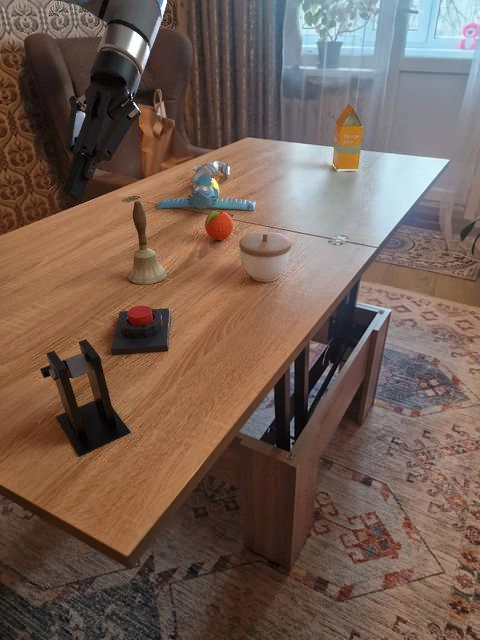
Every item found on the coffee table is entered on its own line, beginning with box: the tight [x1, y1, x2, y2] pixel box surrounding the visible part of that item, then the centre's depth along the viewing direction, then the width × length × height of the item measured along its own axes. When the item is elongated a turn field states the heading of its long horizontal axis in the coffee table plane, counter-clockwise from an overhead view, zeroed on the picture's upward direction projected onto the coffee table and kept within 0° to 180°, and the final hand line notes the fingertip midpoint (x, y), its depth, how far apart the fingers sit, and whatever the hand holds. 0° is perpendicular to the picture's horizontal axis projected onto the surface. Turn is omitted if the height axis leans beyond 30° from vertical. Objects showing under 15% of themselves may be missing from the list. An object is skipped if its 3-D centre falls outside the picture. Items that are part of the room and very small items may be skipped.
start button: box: [127, 305, 153, 326], centre depth 81 cm, size 4×4×2 cm
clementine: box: [204, 210, 234, 241], centre depth 117 cm, size 8×7×7 cm
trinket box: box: [238, 231, 292, 283], centre depth 100 cm, size 11×11×9 cm
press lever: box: [39, 353, 90, 379], centre depth 63 cm, size 11×6×2 cm
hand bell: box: [127, 200, 168, 285], centre depth 98 cm, size 8×8×16 cm
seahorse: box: [190, 160, 231, 186], centre depth 158 cm, size 5×12×20 cm
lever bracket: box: [45, 339, 132, 458], centre depth 62 cm, size 9×7×13 cm
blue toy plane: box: [156, 174, 256, 212], centre depth 136 cm, size 28×9×15 cm
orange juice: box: [332, 104, 364, 170], centre depth 166 cm, size 8×9×20 cm
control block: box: [110, 307, 172, 356], centre depth 82 cm, size 9×12×4 cm
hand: (72, 196), depth 76 cm, fingers closed
